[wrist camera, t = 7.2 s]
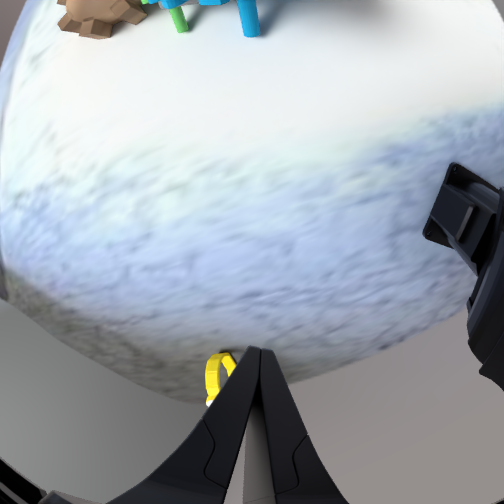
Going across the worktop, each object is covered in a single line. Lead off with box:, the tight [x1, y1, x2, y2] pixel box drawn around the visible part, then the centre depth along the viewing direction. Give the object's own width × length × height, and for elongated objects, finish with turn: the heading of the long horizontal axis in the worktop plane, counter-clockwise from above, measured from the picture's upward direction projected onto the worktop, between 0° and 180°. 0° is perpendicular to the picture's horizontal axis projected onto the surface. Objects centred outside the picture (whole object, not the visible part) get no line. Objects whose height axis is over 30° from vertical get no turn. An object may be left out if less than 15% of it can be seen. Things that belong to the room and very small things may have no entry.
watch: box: [205, 353, 236, 407], centre depth 26 cm, size 6×3×6 cm, turn 19°
